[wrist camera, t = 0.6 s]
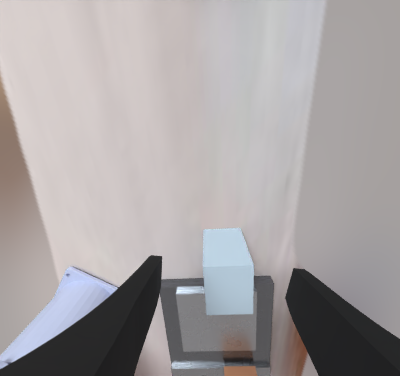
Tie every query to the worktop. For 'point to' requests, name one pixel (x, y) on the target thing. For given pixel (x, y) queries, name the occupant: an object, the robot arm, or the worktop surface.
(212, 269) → the housing block
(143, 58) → the worktop surface
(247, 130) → the worktop surface
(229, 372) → the lever
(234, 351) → the base
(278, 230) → the worktop surface
